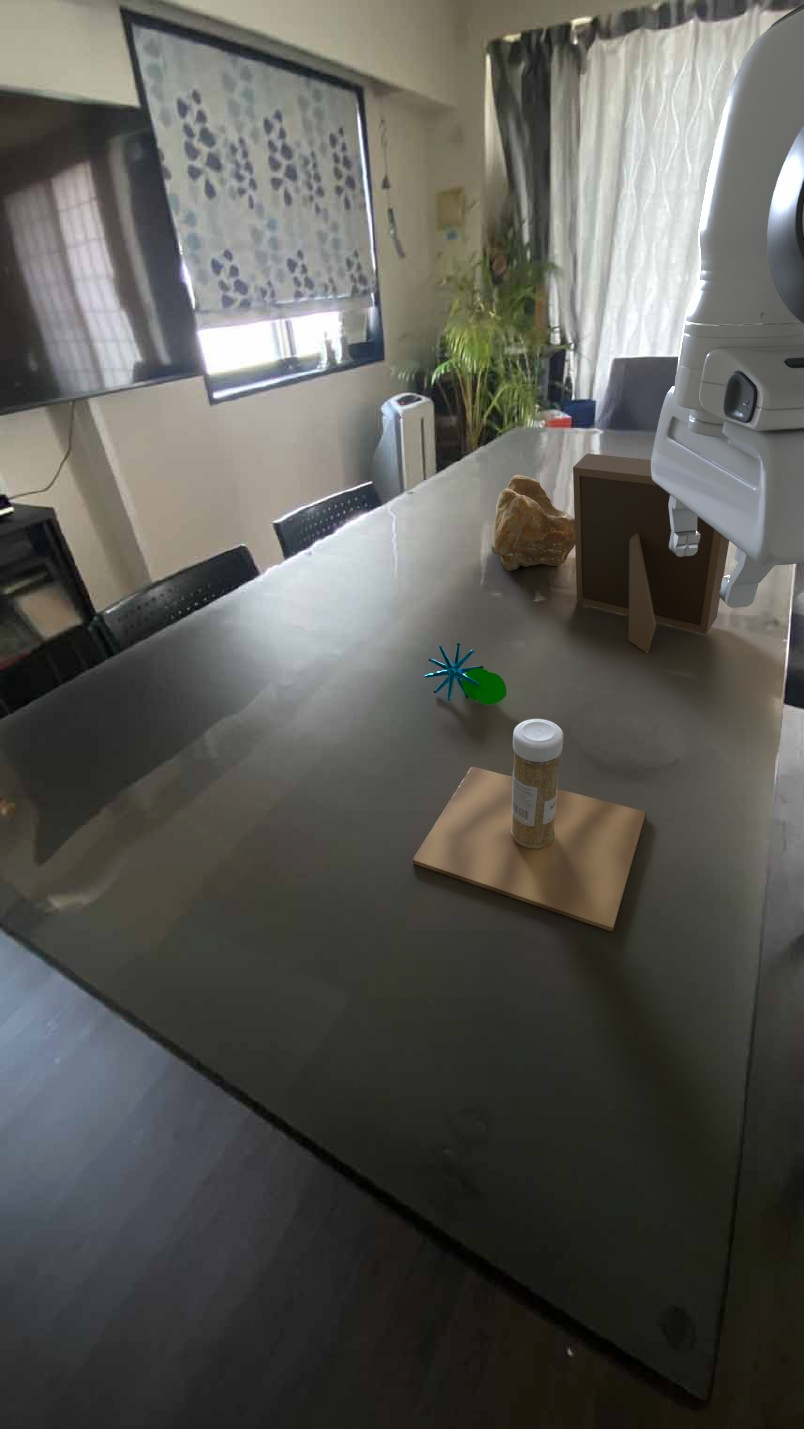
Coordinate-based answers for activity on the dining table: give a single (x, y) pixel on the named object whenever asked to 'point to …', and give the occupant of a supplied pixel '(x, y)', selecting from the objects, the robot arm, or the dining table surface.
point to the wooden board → (558, 877)
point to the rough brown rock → (530, 527)
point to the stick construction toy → (470, 679)
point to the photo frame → (640, 551)
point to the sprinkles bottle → (535, 781)
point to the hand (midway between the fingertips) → (706, 576)
